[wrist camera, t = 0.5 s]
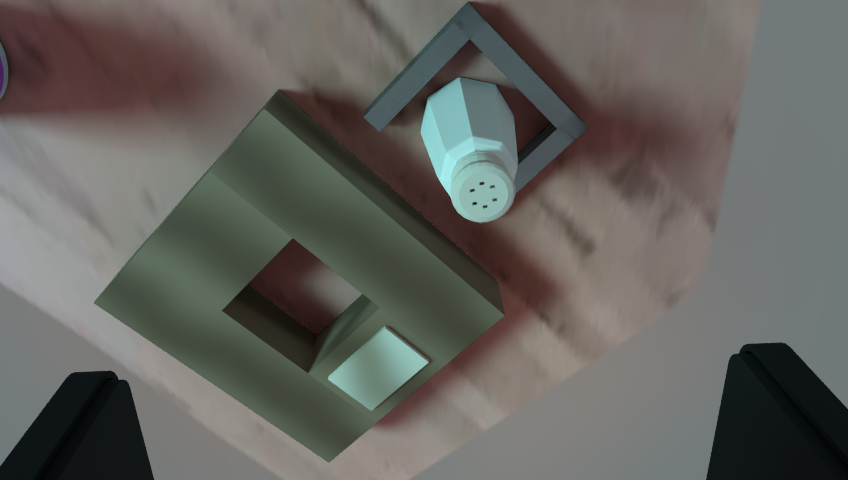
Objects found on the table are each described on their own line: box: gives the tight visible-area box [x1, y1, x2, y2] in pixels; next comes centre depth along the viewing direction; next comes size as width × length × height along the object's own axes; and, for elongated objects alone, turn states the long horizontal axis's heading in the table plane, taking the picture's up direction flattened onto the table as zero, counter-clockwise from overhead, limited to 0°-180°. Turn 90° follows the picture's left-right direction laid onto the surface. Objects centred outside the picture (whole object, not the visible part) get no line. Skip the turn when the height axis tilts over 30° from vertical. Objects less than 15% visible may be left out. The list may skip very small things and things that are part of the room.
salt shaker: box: [421, 77, 518, 222], centre depth 34 cm, size 5×5×11 cm
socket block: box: [94, 90, 505, 462], centre depth 41 cm, size 16×18×4 cm
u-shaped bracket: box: [363, 2, 587, 225], centre depth 38 cm, size 8×9×2 cm
